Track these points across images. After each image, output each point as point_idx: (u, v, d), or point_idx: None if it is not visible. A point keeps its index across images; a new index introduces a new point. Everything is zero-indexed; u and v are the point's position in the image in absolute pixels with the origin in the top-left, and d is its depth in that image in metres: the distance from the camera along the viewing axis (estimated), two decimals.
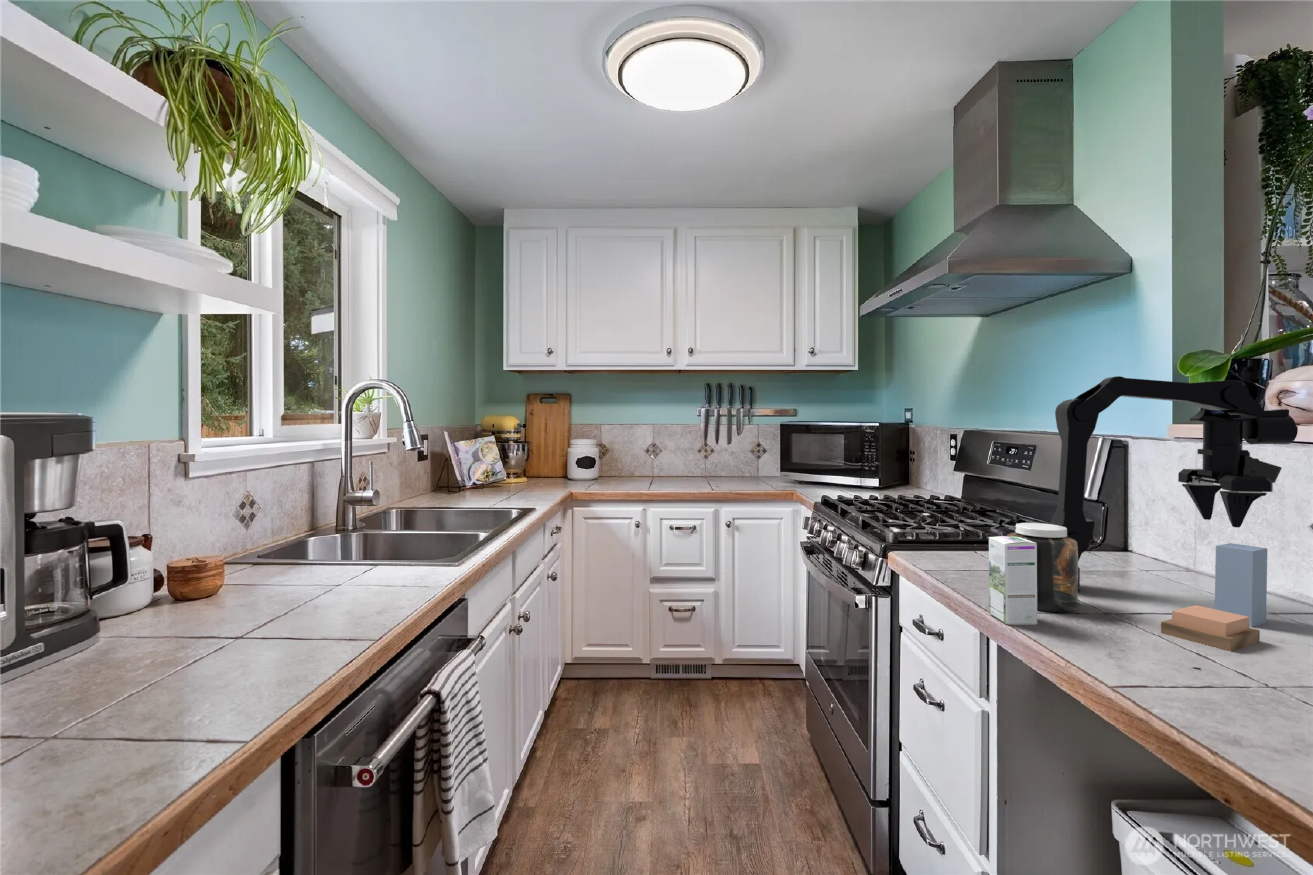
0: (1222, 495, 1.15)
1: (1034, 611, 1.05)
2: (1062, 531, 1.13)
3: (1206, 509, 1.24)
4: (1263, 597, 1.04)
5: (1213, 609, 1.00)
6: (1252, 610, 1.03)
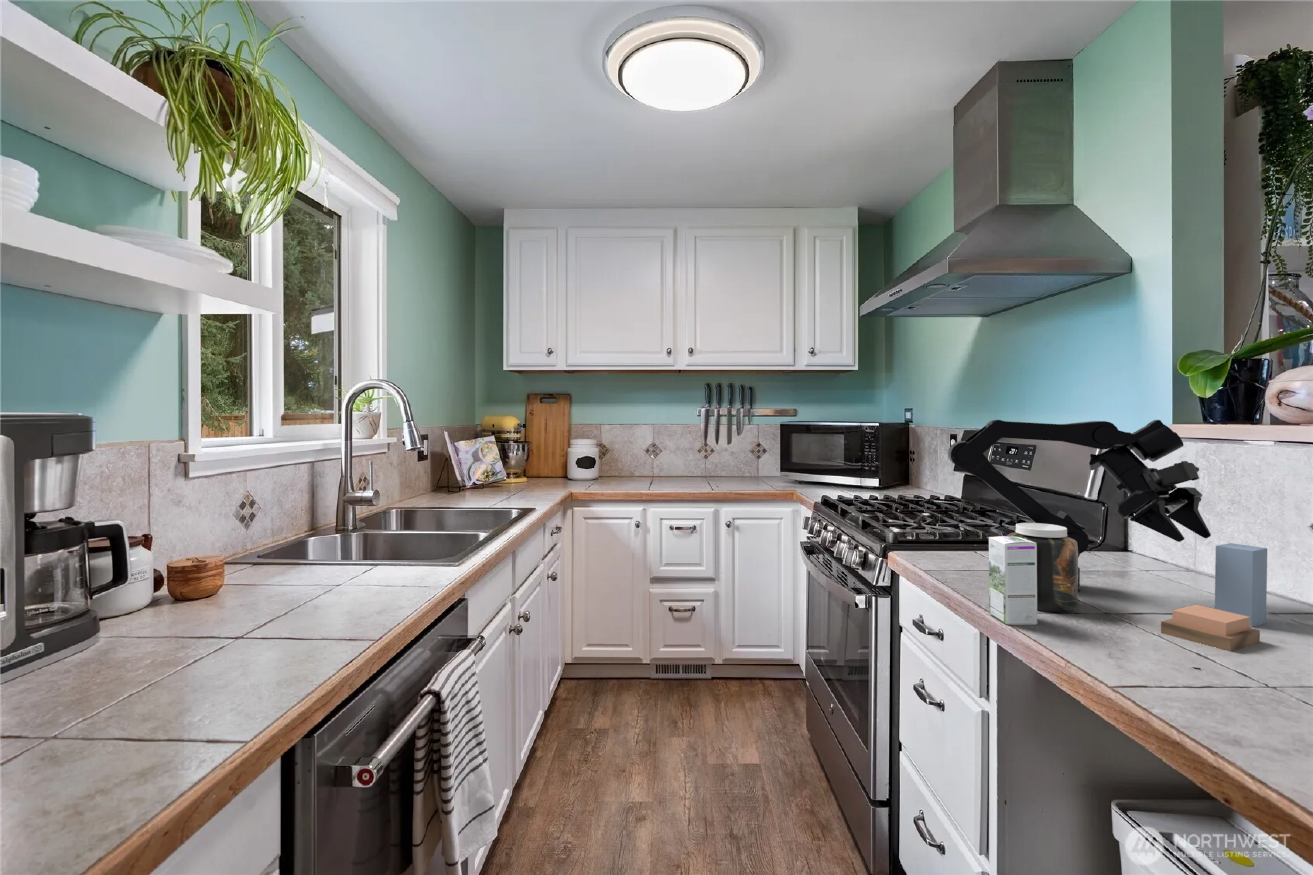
0: None
1: (1034, 611, 1.05)
2: (1062, 531, 1.13)
3: (1198, 528, 1.15)
4: (1263, 597, 1.04)
5: (1214, 609, 1.00)
6: (1252, 610, 1.03)
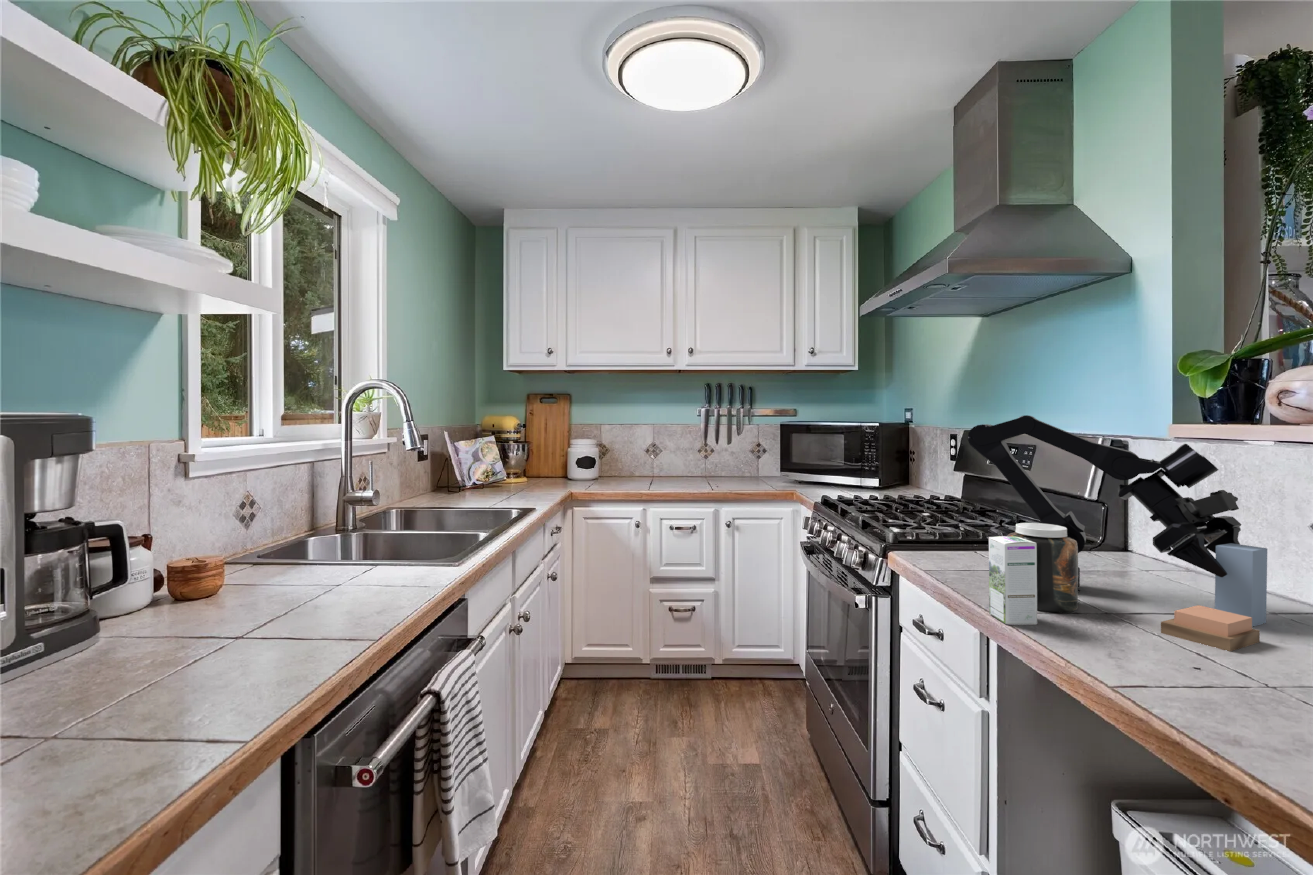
0: None
1: (1034, 611, 1.05)
2: (1062, 531, 1.13)
3: None
4: (1263, 597, 1.04)
5: (1216, 609, 1.00)
6: (1252, 610, 1.03)
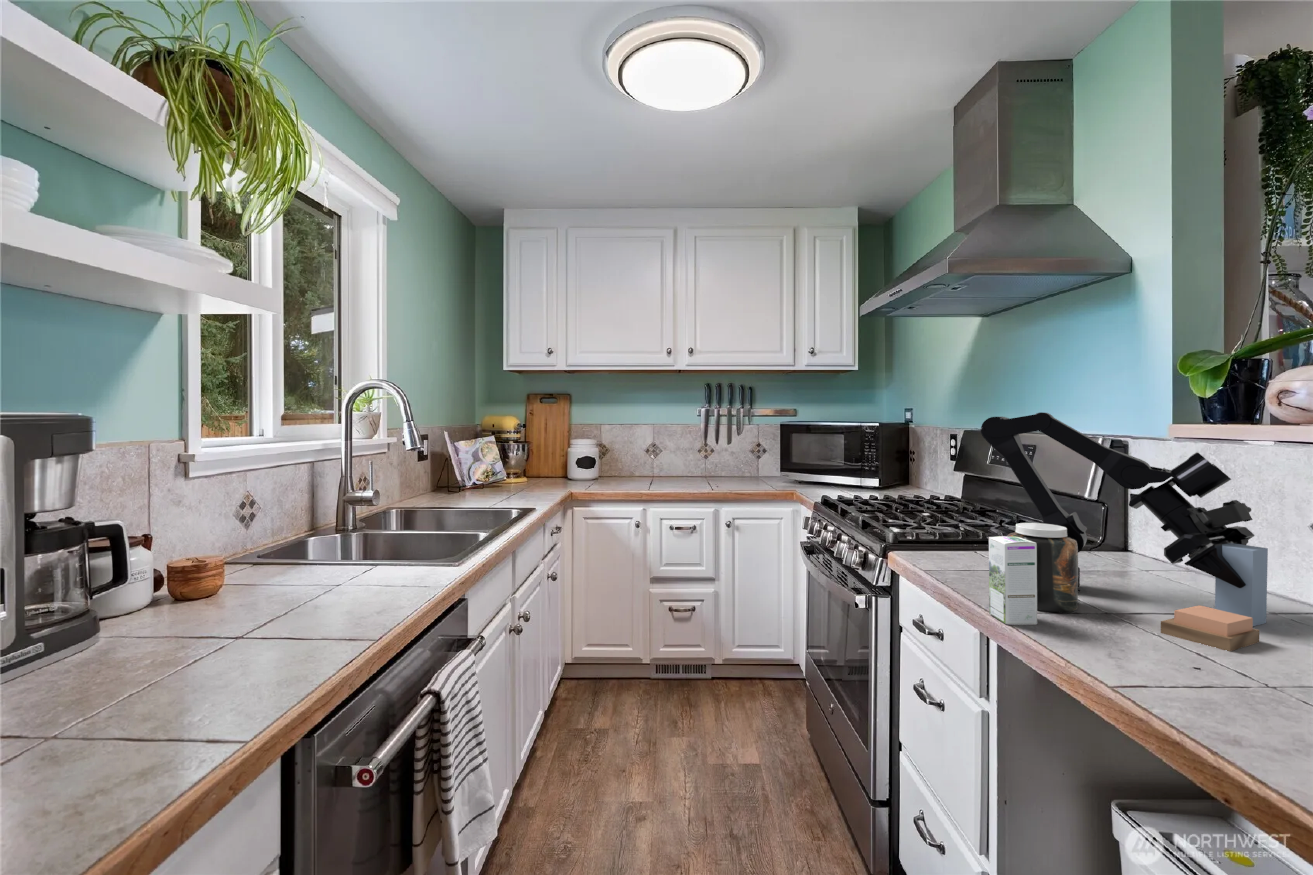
0: None
1: (1034, 611, 1.05)
2: (1062, 531, 1.13)
3: None
4: (1263, 597, 1.04)
5: (1216, 609, 1.00)
6: (1252, 609, 1.03)
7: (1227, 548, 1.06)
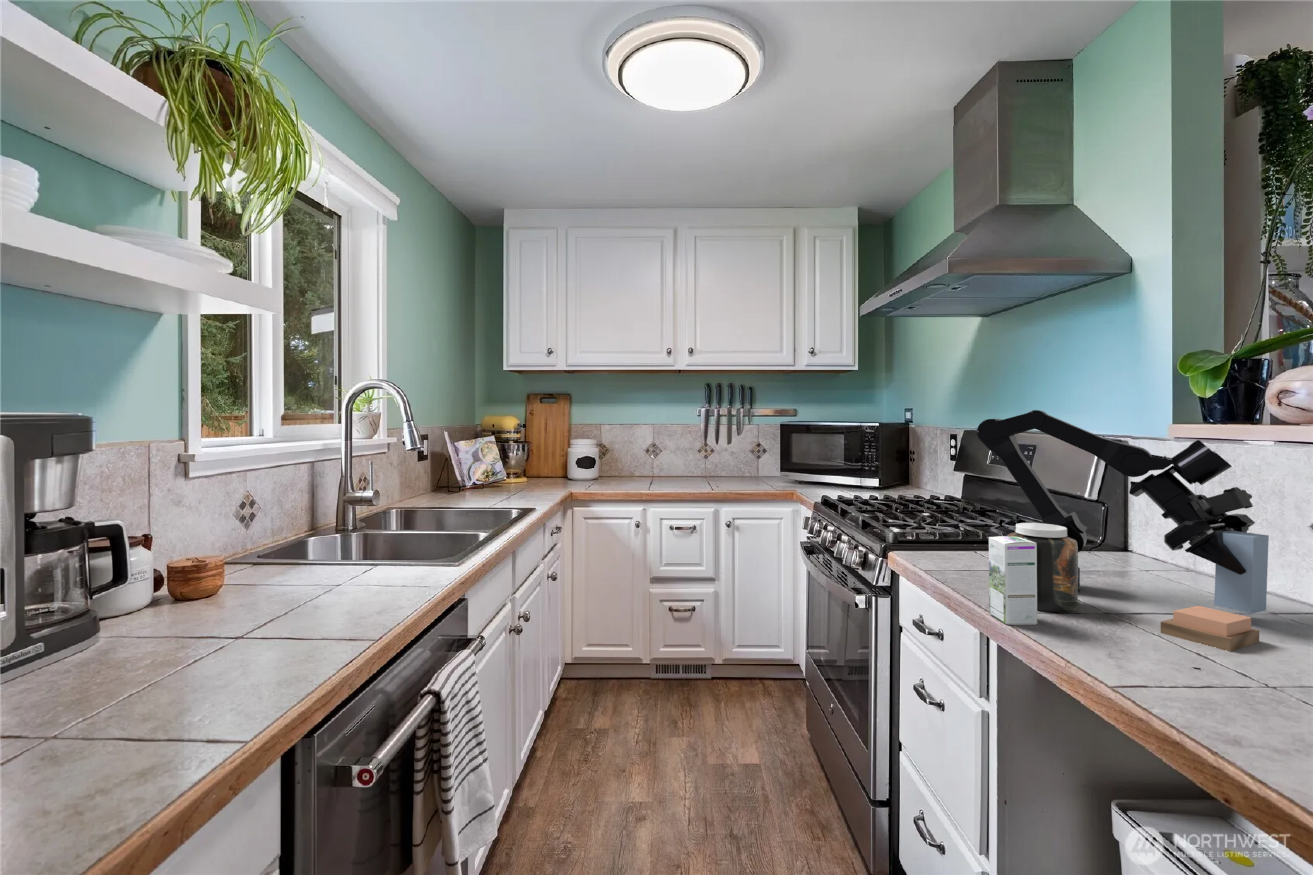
0: None
1: (1034, 611, 1.05)
2: (1062, 531, 1.13)
3: None
4: (1263, 584, 1.04)
5: (1215, 610, 1.00)
6: (1252, 596, 1.03)
7: (1228, 535, 1.05)
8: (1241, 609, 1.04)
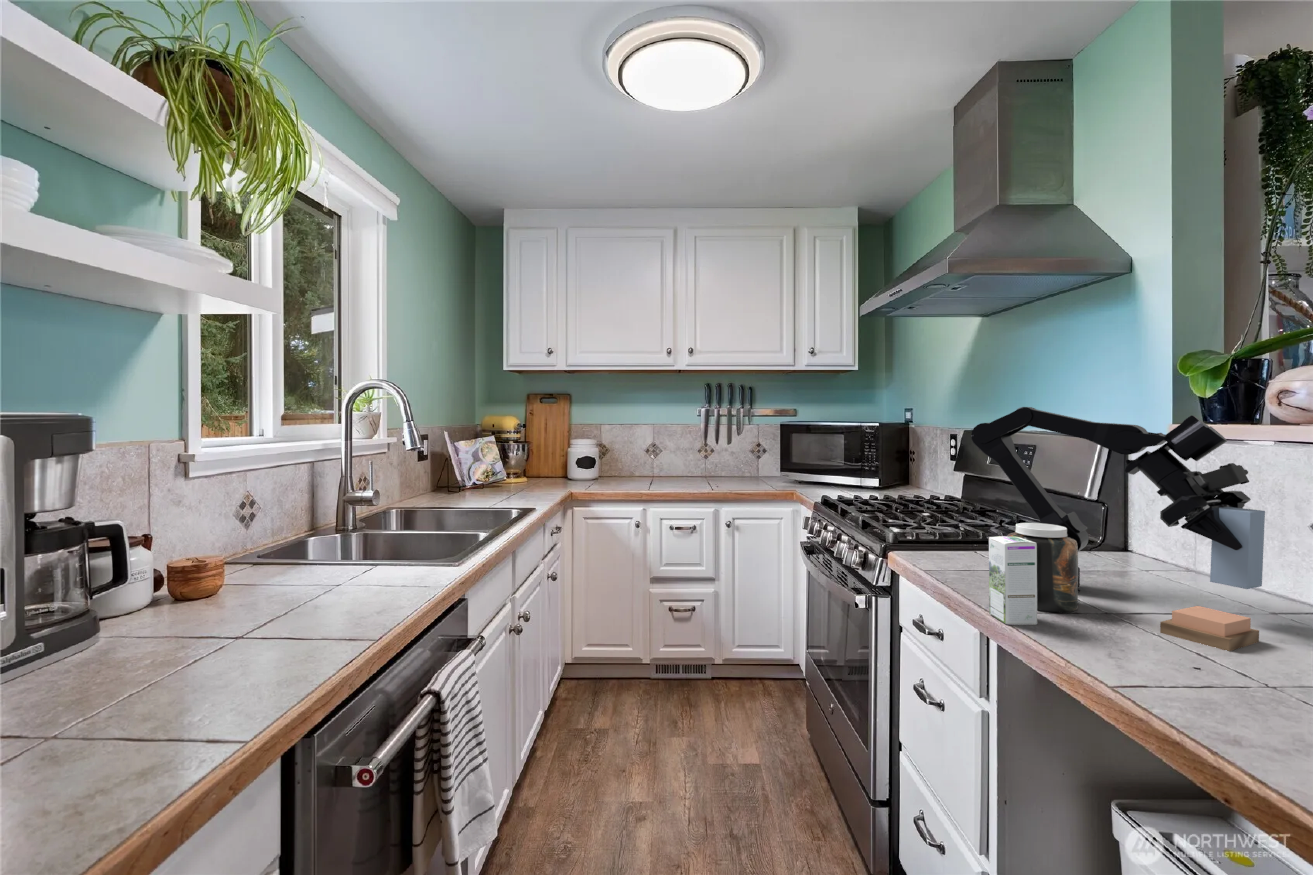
0: None
1: (1034, 611, 1.05)
2: (1062, 531, 1.13)
3: None
4: (1259, 560, 1.03)
5: (1214, 610, 1.00)
6: (1248, 572, 1.02)
7: (1224, 510, 1.04)
8: (1237, 585, 1.03)
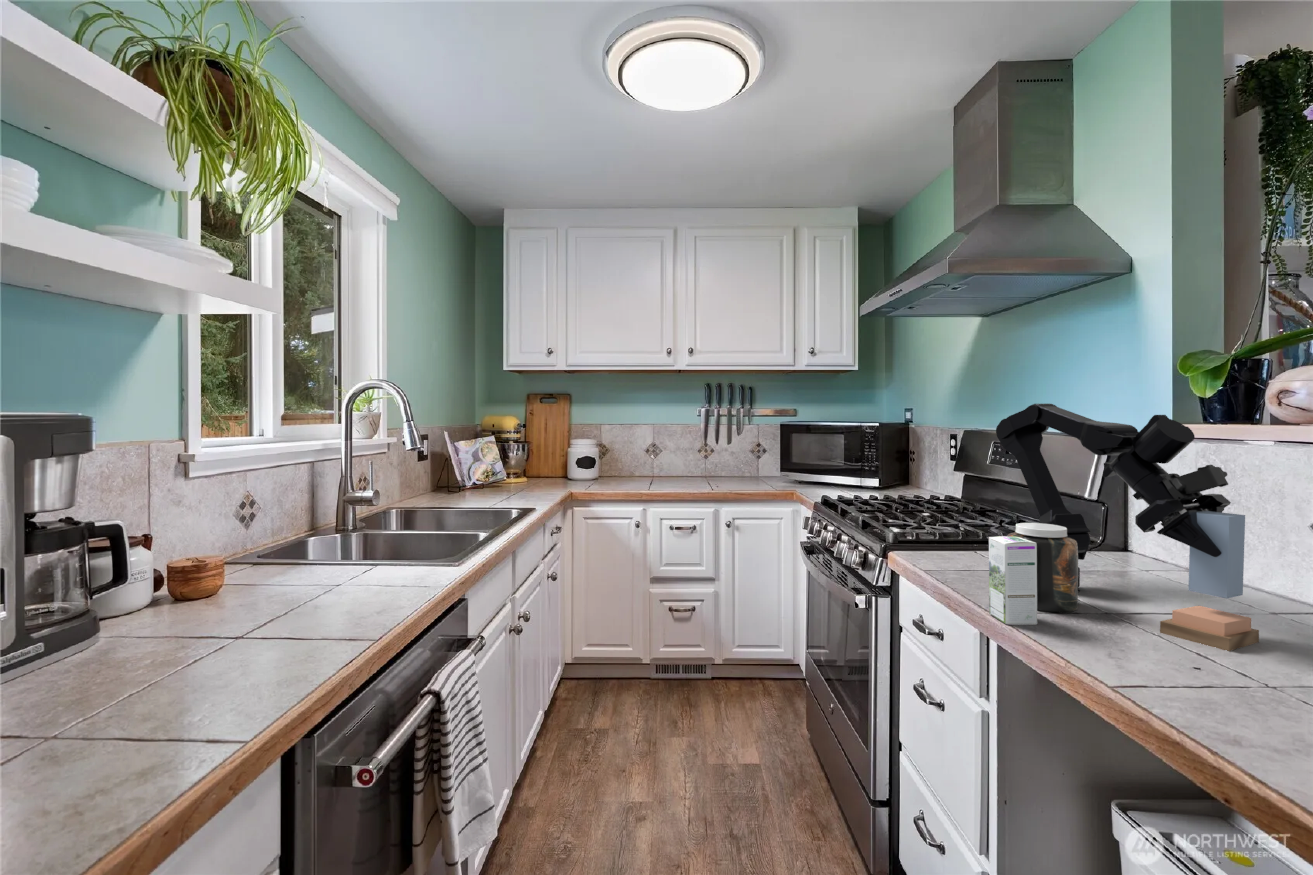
0: None
1: (1034, 611, 1.05)
2: (1062, 531, 1.13)
3: None
4: (1239, 567, 0.97)
5: (1215, 610, 1.00)
6: (1228, 580, 0.96)
7: (1202, 515, 0.99)
8: (1216, 594, 0.97)
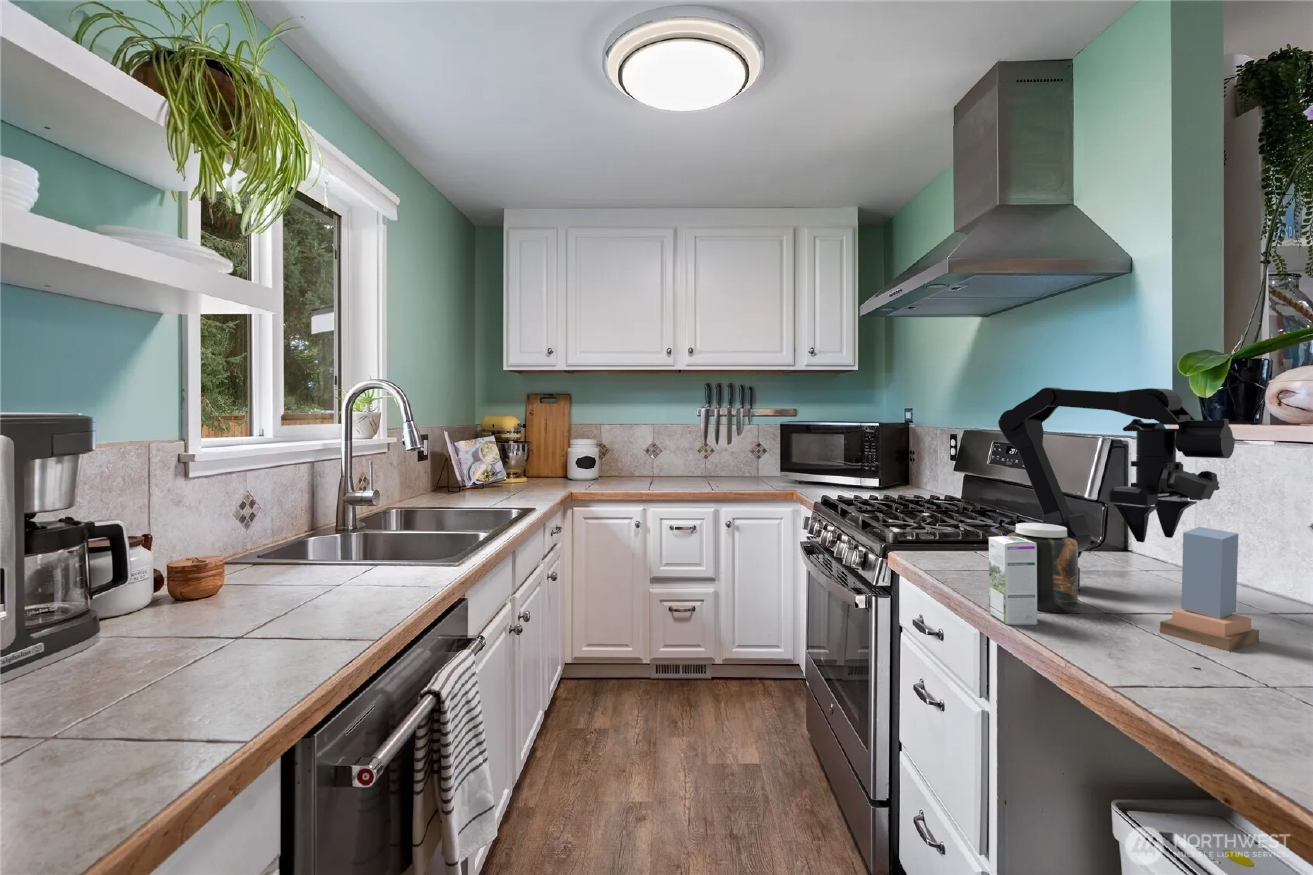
0: None
1: (1034, 611, 1.05)
2: (1062, 531, 1.13)
3: (1167, 526, 1.15)
4: (1233, 585, 0.96)
5: None
6: (1221, 601, 0.95)
7: (1195, 536, 0.97)
8: (1209, 614, 0.96)
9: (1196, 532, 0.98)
